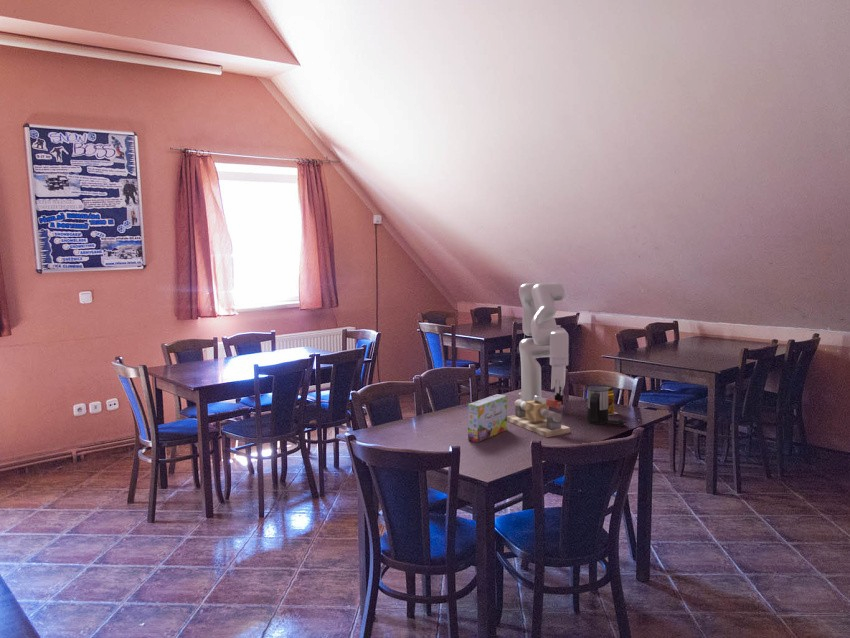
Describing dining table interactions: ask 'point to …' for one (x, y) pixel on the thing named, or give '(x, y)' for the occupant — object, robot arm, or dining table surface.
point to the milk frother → (599, 406)
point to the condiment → (610, 401)
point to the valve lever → (548, 401)
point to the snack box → (487, 417)
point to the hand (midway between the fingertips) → (558, 404)
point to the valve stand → (538, 418)
